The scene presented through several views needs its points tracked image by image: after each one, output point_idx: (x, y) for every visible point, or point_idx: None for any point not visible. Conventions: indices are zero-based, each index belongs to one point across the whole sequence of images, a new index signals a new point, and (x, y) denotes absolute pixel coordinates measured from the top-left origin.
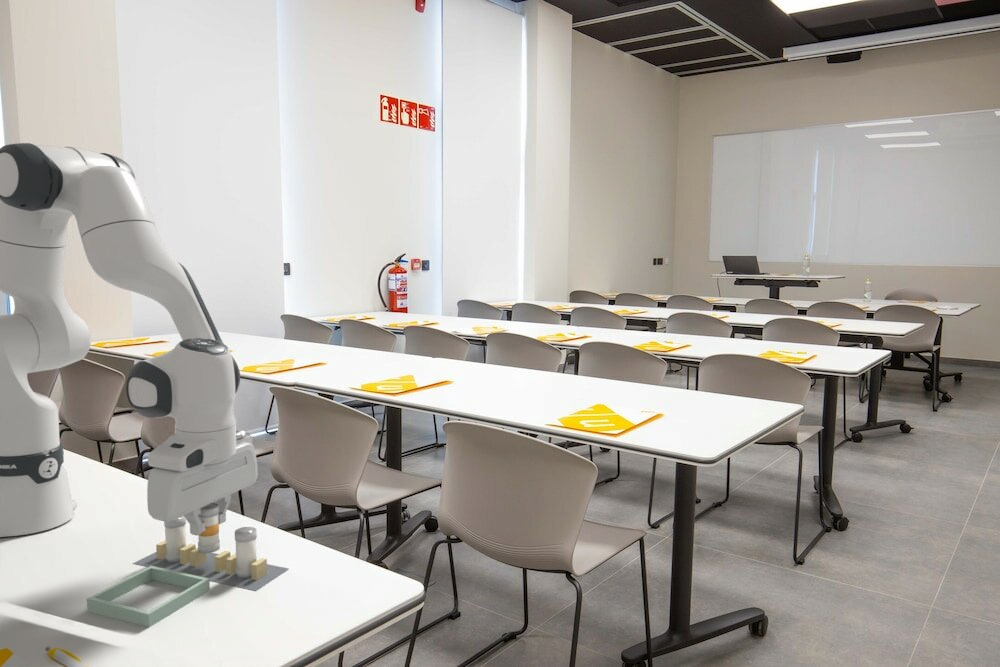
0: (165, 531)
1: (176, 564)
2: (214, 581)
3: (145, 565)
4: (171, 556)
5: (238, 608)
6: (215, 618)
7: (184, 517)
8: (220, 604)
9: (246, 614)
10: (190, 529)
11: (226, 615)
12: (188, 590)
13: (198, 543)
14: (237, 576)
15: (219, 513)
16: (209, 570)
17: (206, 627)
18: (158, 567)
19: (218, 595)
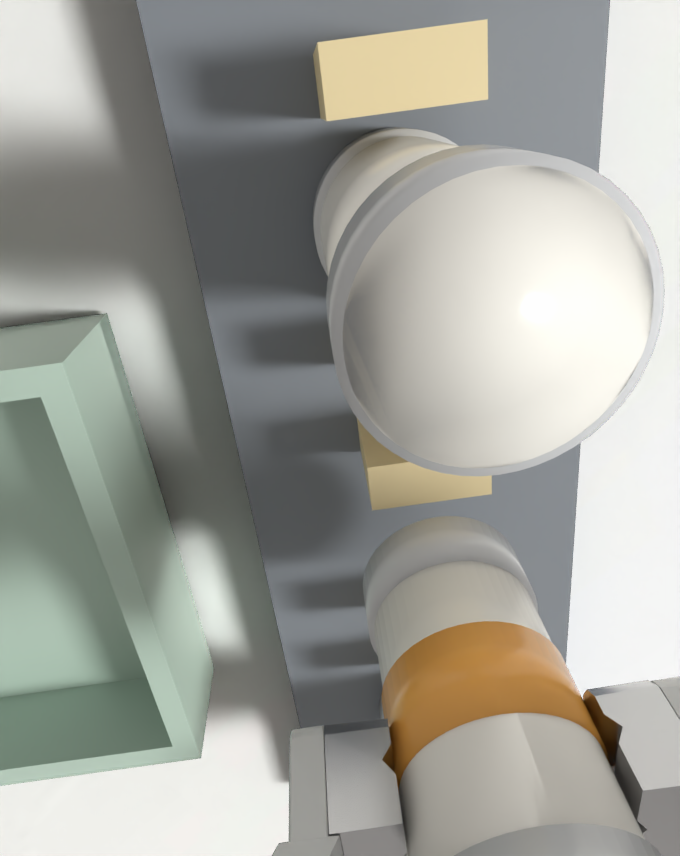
0: (339, 237)
1: (321, 310)
2: (287, 654)
3: (168, 98)
4: (324, 266)
5: (233, 777)
6: (126, 771)
7: (552, 451)
8: (212, 716)
9: (219, 817)
10: (289, 772)
11: (168, 781)
12: (47, 776)
13: (386, 594)
14: (379, 703)
15: (674, 841)
16: (369, 546)
17: (63, 791)
18: (86, 434)
19: (262, 660)
